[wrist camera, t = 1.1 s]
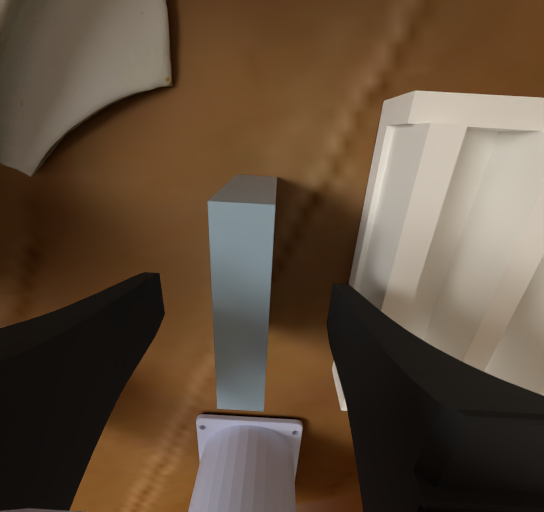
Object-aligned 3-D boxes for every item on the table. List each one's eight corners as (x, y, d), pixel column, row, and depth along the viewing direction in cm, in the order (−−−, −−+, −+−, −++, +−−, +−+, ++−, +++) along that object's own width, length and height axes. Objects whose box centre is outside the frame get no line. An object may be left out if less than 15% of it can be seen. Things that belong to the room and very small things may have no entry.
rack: (551, 382, 18) (619, 443, 15) (331, 369, 18) (345, 427, 15) (724, 120, 12) (923, 113, 8) (383, 100, 12) (430, 85, 8)
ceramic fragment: (145, -183, 9) (59, -381, 6) (260, -42, 10) (249, -129, 7) (1, 146, 14) (-95, 151, 10) (94, 214, 15) (37, 239, 12)
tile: (268, 323, 17) (263, 411, 12) (237, 321, 17) (217, 408, 12) (277, 176, 13) (275, 204, 8) (237, 174, 13) (207, 201, 8)
